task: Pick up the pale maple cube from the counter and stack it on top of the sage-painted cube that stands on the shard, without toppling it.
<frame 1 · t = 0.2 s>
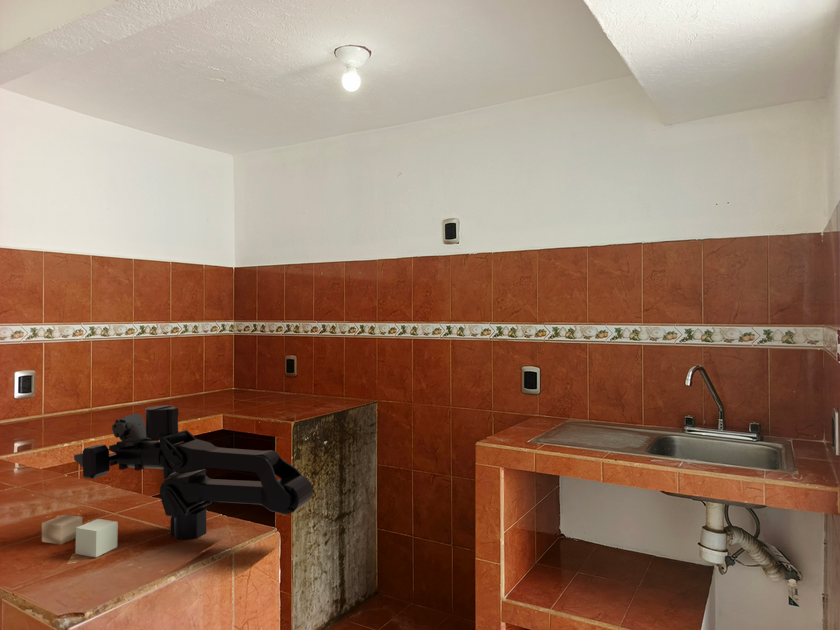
hand: (92, 452, 124), 17 cm above the counter, tool horizontal, fingers open, 9 cm apart
maple block: (62, 544, 116), on the counter
sage block: (96, 550, 109), point 1 cm above the counter, touching shard
shard: (96, 560, 109), on the counter, touching sage block
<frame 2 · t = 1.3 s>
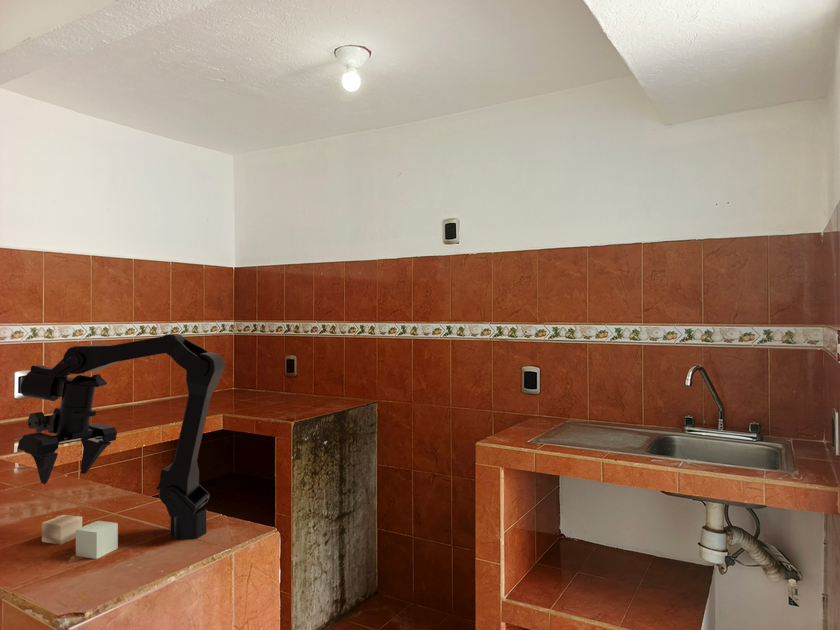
hand: (64, 478, 117), 13 cm above the counter, tool pointing down, fingers open, 9 cm apart
nothing on the counter moved.
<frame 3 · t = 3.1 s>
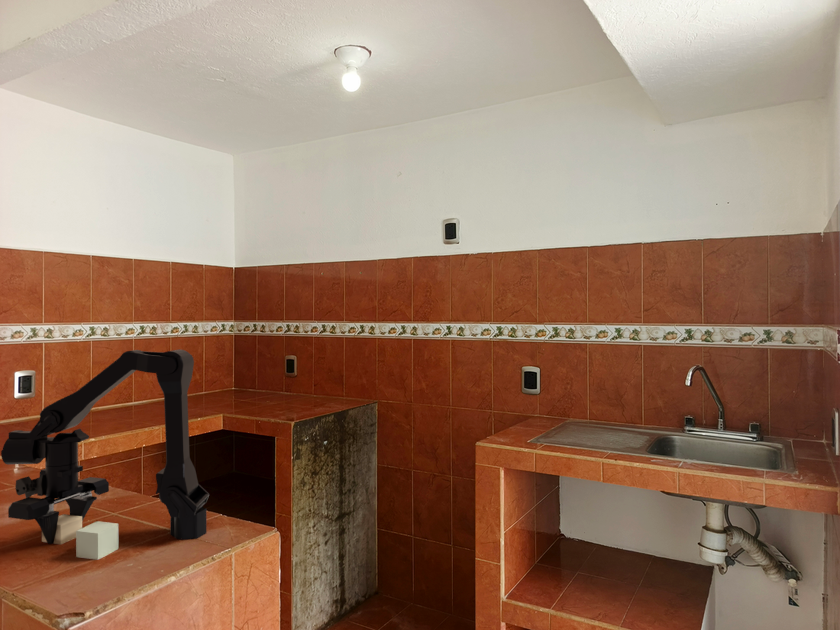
hand: (62, 538, 116), 1 cm above the counter, tool pointing down, fingers closed on maple block, 5 cm apart
maple block: (62, 543, 116), on the counter, touching gripper
everything else where it was.
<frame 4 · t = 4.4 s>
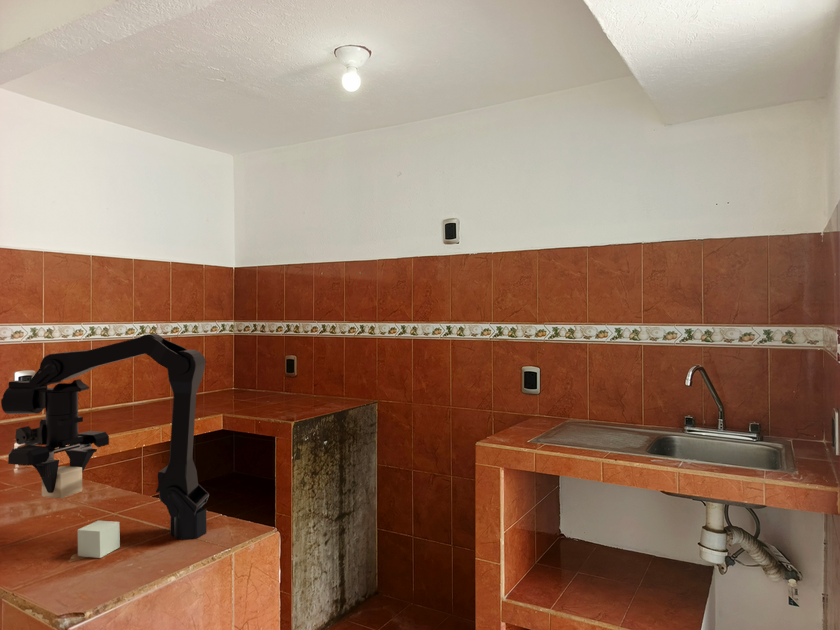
hand: (62, 488, 116), 11 cm above the counter, tool pointing down, fingers closed on maple block, 5 cm apart
maple block: (62, 493, 116), point 10 cm above the counter, touching gripper
sage block: (99, 551, 109), point 1 cm above the counter
shard: (96, 560, 110), on the counter
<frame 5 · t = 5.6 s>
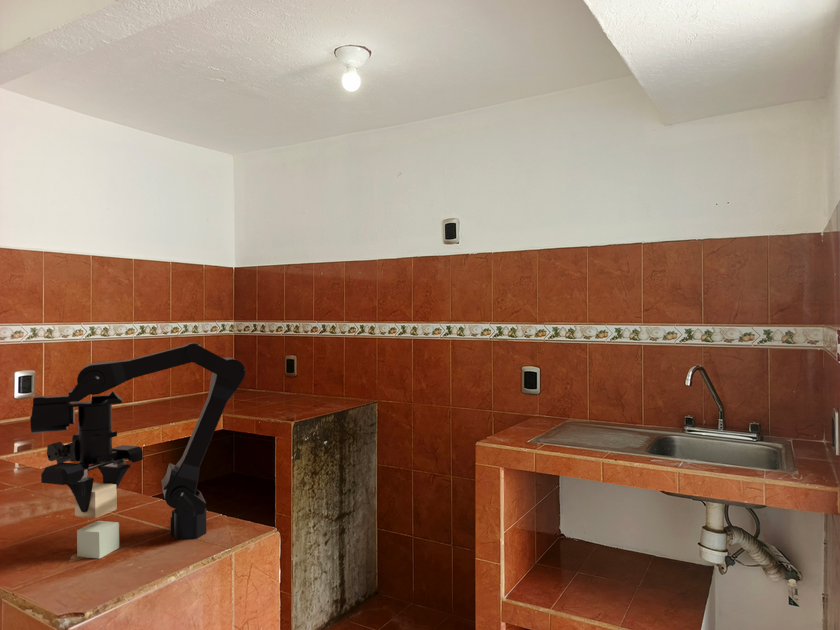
hand: (96, 507, 109), 10 cm above the counter, tool pointing down, fingers closed on maple block, 5 cm apart
maple block: (96, 512, 109), point 9 cm above the counter, touching gripper
sage block: (98, 552, 109), point 1 cm above the counter, touching shard
shard: (96, 560, 110), on the counter, touching sage block
when the fingers open (9 cm above the counter, at t = 6.0 s): maple block drops 2 cm, resting on sage block.
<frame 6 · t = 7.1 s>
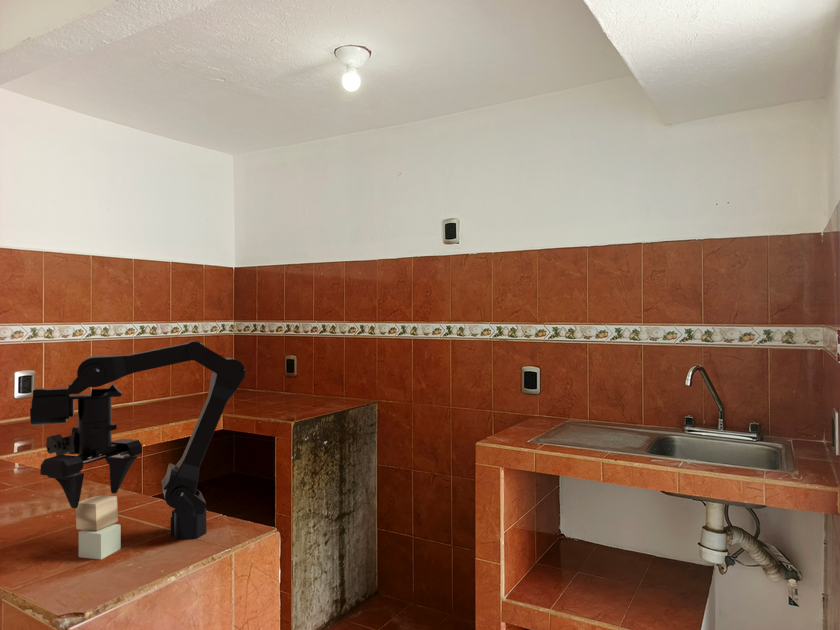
hand: (94, 500, 109), 11 cm above the counter, tool pointing down, fingers open, 9 cm apart
maple block: (97, 525, 110), point 6 cm above the counter, touching sage block
sage block: (99, 553, 108), point 1 cm above the counter, touching shard, maple block
everything else where it was.
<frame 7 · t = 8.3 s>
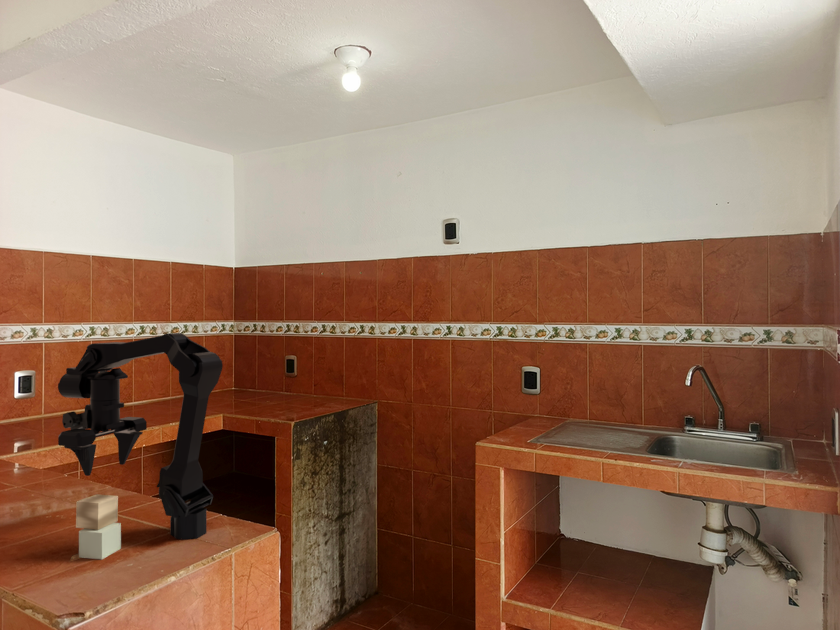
hand: (105, 469, 124), 13 cm above the counter, tool pointing down, fingers open, 9 cm apart
nothing on the counter moved.
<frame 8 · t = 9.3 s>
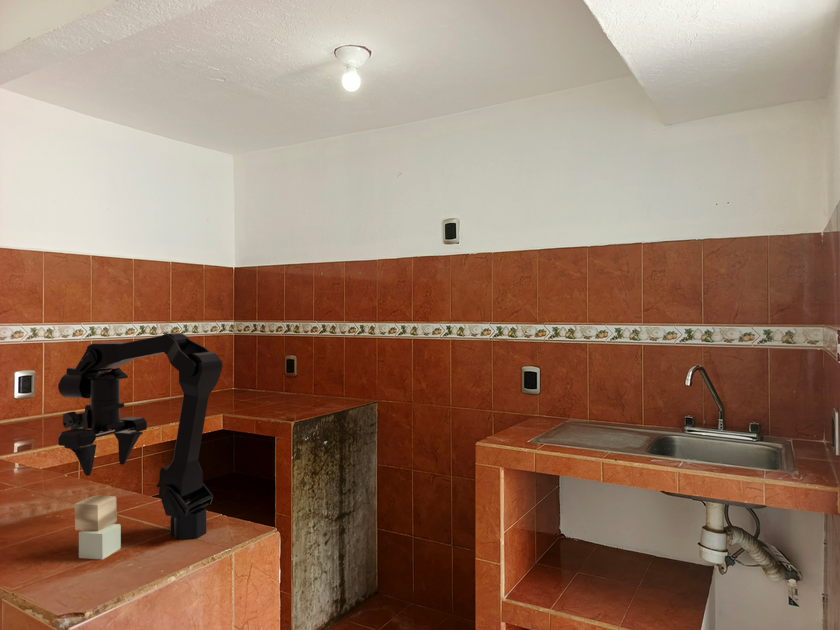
hand: (105, 469, 124), 13 cm above the counter, tool pointing down, fingers open, 9 cm apart
nothing on the counter moved.
at the end: maple block 2.1 cm off-centre on the sage block, point 5.0 cm above the sage block's base; sage block tilted 0°; the gripper is holding nothing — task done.
